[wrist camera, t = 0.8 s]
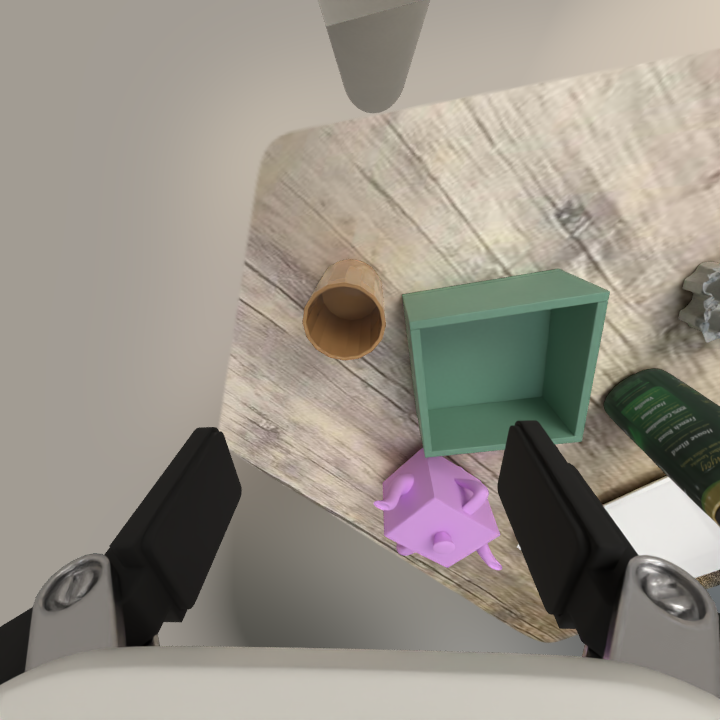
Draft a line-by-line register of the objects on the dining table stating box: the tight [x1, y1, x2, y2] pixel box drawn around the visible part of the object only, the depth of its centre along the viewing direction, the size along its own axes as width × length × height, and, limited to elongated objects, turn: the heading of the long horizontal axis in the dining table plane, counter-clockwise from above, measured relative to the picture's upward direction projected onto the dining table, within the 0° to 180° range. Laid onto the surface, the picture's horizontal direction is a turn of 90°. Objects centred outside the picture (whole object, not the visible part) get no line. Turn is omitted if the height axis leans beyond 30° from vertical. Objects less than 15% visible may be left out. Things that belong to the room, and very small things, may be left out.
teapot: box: [374, 448, 502, 570], centre depth 41 cm, size 15×13×11 cm
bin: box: [402, 269, 610, 458], centre depth 33 cm, size 16×16×8 cm
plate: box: [517, 476, 720, 578], centre depth 50 cm, size 26×26×2 cm
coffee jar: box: [604, 369, 720, 527], centre depth 30 cm, size 10×8×19 cm
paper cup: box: [303, 259, 386, 360], centre depth 30 cm, size 7×7×9 cm
